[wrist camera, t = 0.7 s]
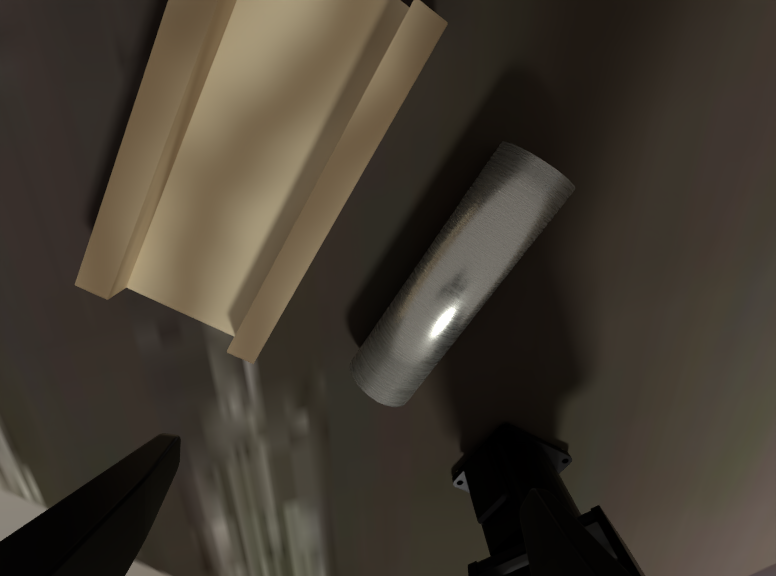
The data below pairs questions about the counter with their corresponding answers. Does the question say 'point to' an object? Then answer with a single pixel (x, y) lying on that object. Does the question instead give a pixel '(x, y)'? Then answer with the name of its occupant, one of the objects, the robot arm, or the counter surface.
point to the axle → (459, 272)
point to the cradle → (249, 151)
